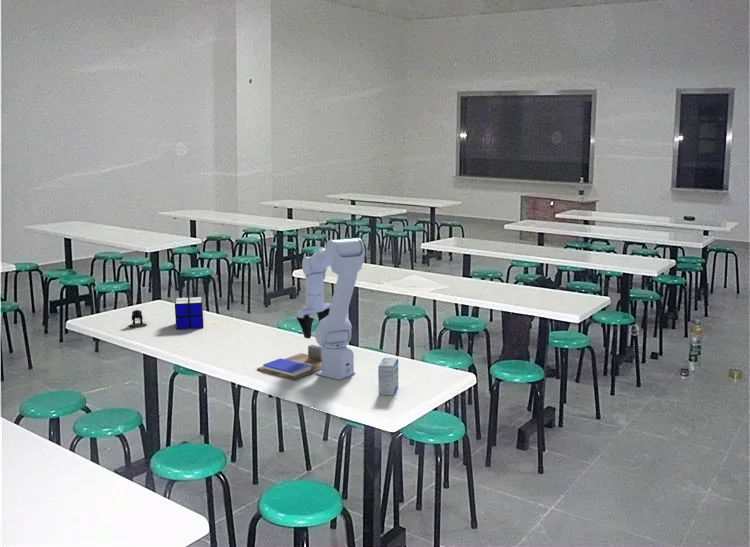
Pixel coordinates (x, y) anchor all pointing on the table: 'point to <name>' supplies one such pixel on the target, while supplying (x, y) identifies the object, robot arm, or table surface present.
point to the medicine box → (388, 376)
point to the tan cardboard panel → (303, 362)
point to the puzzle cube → (189, 313)
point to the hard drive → (287, 367)
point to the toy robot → (136, 315)
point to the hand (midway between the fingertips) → (315, 335)
